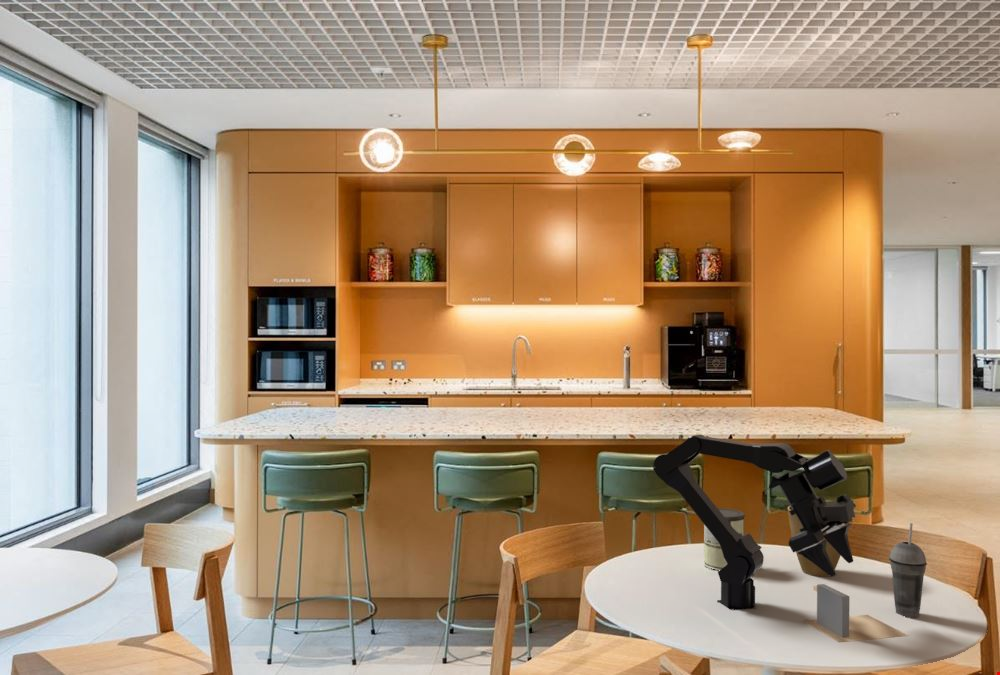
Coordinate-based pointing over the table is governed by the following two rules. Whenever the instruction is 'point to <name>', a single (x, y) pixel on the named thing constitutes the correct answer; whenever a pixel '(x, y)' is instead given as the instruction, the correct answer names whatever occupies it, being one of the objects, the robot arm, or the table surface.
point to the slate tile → (833, 610)
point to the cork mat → (860, 629)
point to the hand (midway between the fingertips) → (842, 569)
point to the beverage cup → (907, 576)
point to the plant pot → (804, 562)
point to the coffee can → (712, 546)
